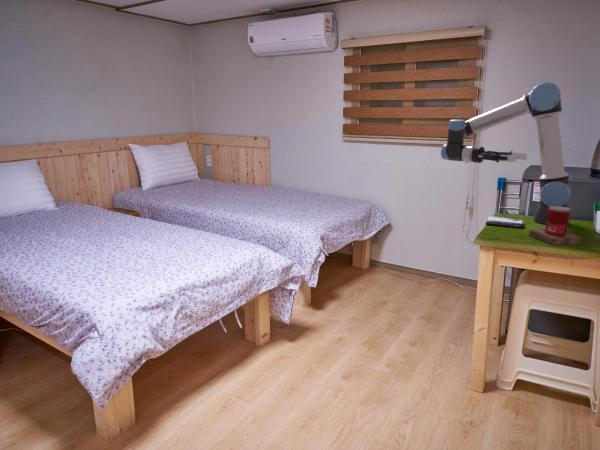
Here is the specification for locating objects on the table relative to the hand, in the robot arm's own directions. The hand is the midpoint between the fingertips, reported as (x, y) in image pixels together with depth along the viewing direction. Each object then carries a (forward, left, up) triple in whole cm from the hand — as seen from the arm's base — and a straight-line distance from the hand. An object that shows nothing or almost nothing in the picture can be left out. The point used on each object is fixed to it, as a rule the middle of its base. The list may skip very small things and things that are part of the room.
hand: (521, 157), depth 202 cm
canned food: (-5, +21, -29) cm, 36 cm away
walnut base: (-5, +21, -32) cm, 38 cm away
